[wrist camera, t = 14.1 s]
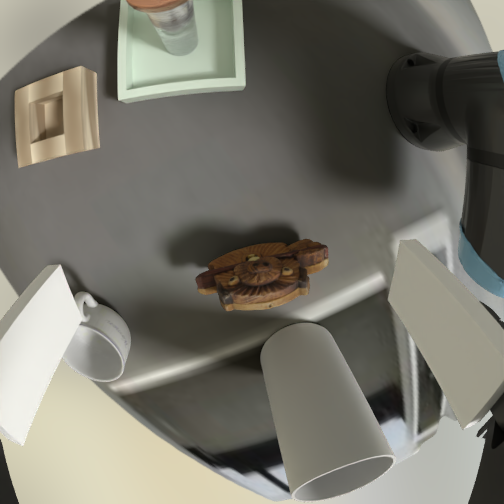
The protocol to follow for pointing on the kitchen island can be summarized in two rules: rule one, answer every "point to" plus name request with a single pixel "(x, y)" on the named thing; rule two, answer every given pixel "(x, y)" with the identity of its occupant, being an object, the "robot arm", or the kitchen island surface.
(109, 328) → the teacup
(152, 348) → the kitchen island surface
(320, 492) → the cylinder vase
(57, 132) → the block
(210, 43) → the tray
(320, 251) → the wooden carving
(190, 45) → the pin
